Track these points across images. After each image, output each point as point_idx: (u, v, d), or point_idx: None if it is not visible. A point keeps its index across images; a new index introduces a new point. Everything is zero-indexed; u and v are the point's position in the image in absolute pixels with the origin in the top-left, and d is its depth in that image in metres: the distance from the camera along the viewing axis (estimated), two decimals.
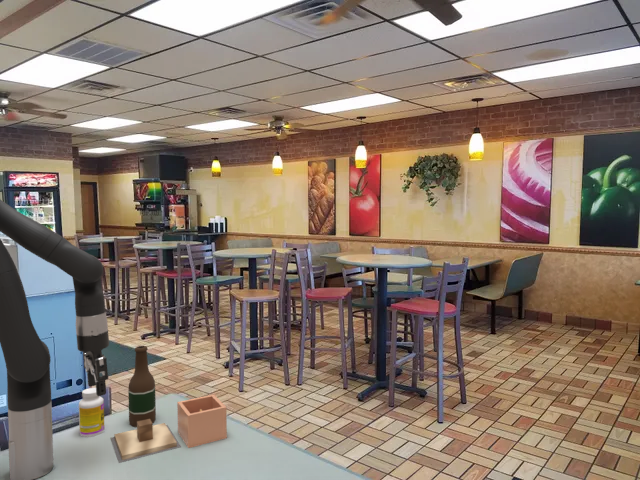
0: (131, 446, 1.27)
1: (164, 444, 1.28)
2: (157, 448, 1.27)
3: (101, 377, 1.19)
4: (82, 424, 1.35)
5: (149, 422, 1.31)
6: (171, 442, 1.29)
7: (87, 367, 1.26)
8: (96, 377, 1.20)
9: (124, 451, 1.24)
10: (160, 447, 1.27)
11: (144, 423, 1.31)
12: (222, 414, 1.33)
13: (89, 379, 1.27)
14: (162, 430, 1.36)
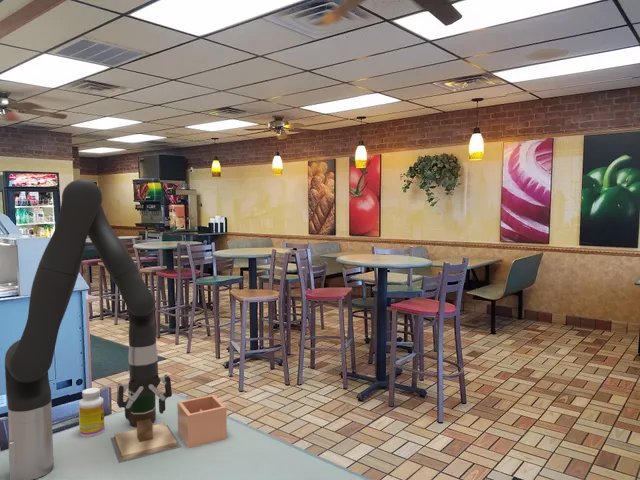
0: (131, 446, 1.27)
1: (164, 444, 1.28)
2: (157, 448, 1.27)
3: None
4: (82, 424, 1.35)
5: (149, 422, 1.31)
6: (171, 442, 1.29)
7: None
8: (164, 395, 1.33)
9: (124, 451, 1.24)
10: (160, 447, 1.27)
11: (144, 423, 1.31)
12: (222, 414, 1.33)
13: None
14: (162, 430, 1.36)
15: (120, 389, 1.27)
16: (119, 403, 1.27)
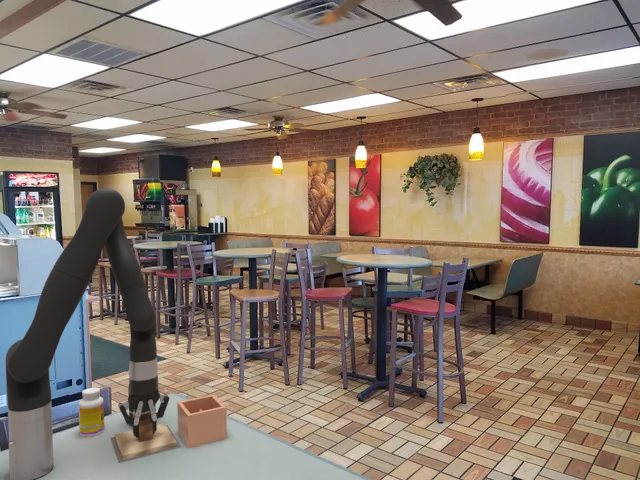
0: (131, 446, 1.27)
1: (164, 444, 1.28)
2: (157, 448, 1.27)
3: None
4: (82, 424, 1.35)
5: (149, 422, 1.31)
6: (171, 442, 1.29)
7: None
8: (156, 416, 1.32)
9: (124, 451, 1.24)
10: (160, 447, 1.27)
11: (144, 423, 1.31)
12: (222, 414, 1.33)
13: None
14: (162, 430, 1.36)
15: (121, 409, 1.27)
16: (126, 421, 1.28)
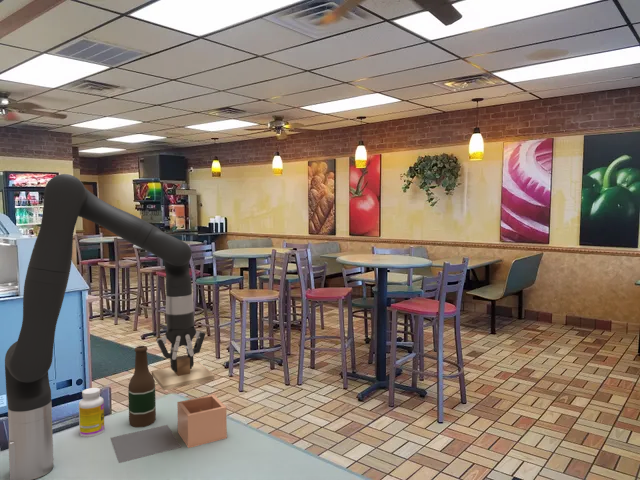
0: (170, 379, 1.29)
1: (202, 376, 1.31)
2: (196, 380, 1.29)
3: None
4: (82, 424, 1.35)
5: (186, 357, 1.34)
6: (209, 375, 1.32)
7: None
8: (193, 351, 1.34)
9: (164, 383, 1.27)
10: (199, 379, 1.30)
11: (181, 358, 1.33)
12: (222, 414, 1.33)
13: None
14: (198, 367, 1.39)
15: (160, 343, 1.29)
16: (165, 355, 1.30)
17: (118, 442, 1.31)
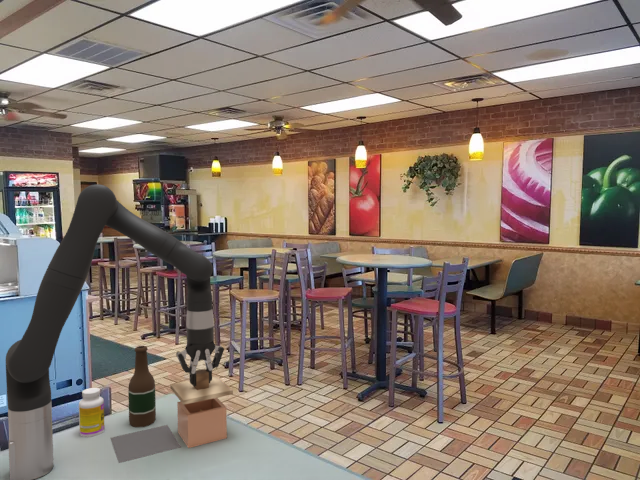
0: (189, 393, 1.31)
1: (221, 391, 1.32)
2: (215, 395, 1.30)
3: None
4: (82, 424, 1.35)
5: (205, 371, 1.35)
6: (227, 390, 1.33)
7: None
8: (212, 366, 1.36)
9: (184, 397, 1.28)
10: (218, 394, 1.31)
11: (200, 372, 1.34)
12: (222, 414, 1.33)
13: None
14: (216, 381, 1.40)
15: (180, 357, 1.31)
16: (185, 369, 1.31)
17: (118, 442, 1.31)
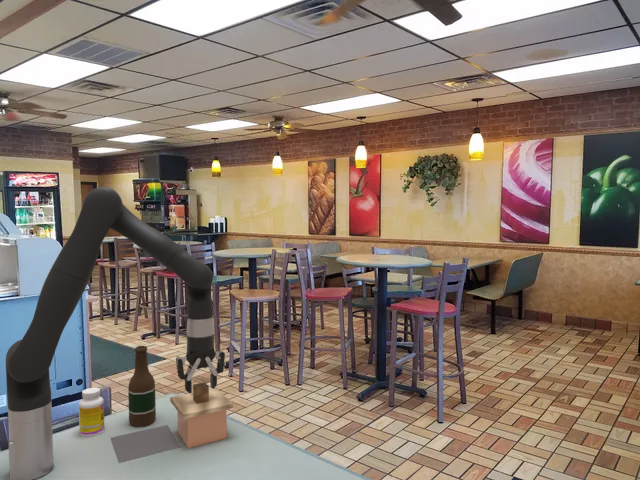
0: (190, 407, 1.31)
1: (221, 405, 1.32)
2: (215, 409, 1.31)
3: None
4: (82, 424, 1.35)
5: (205, 385, 1.35)
6: (227, 404, 1.33)
7: None
8: (216, 371, 1.36)
9: (184, 411, 1.28)
10: (218, 408, 1.31)
11: (200, 386, 1.35)
12: (222, 414, 1.33)
13: None
14: (216, 394, 1.40)
15: (179, 362, 1.30)
16: (180, 375, 1.31)
17: (118, 442, 1.31)
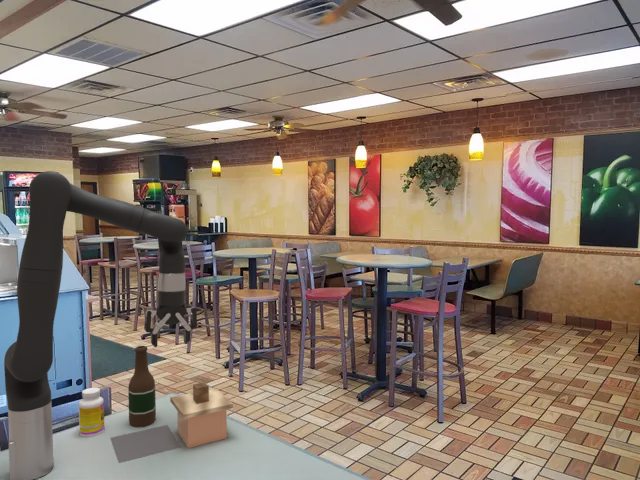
0: (190, 407, 1.31)
1: (221, 405, 1.32)
2: (215, 409, 1.31)
3: None
4: (82, 424, 1.35)
5: (205, 385, 1.35)
6: (227, 404, 1.33)
7: None
8: (189, 326, 1.35)
9: (184, 411, 1.28)
10: (218, 408, 1.31)
11: (200, 386, 1.35)
12: (222, 414, 1.33)
13: None
14: (216, 394, 1.40)
15: (148, 314, 1.29)
16: (146, 328, 1.29)
17: (118, 442, 1.31)
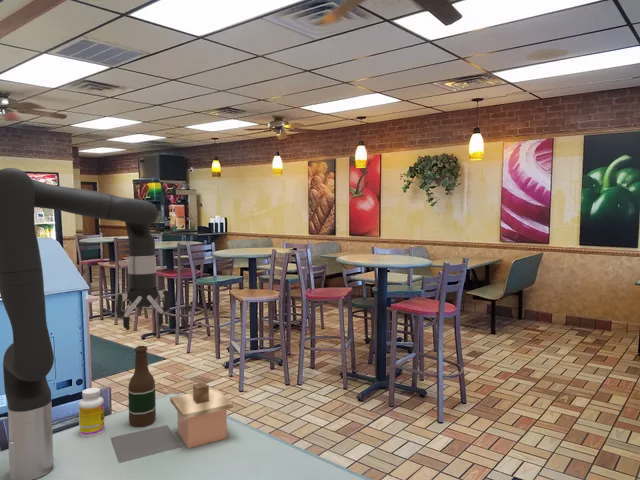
0: (190, 407, 1.31)
1: (221, 405, 1.32)
2: (215, 409, 1.31)
3: None
4: (82, 424, 1.35)
5: (205, 385, 1.35)
6: (227, 404, 1.33)
7: None
8: (162, 308, 1.35)
9: (184, 411, 1.28)
10: (218, 408, 1.31)
11: (200, 386, 1.35)
12: (222, 414, 1.33)
13: None
14: (216, 394, 1.40)
15: (119, 297, 1.29)
16: (118, 311, 1.29)
17: (118, 442, 1.31)
